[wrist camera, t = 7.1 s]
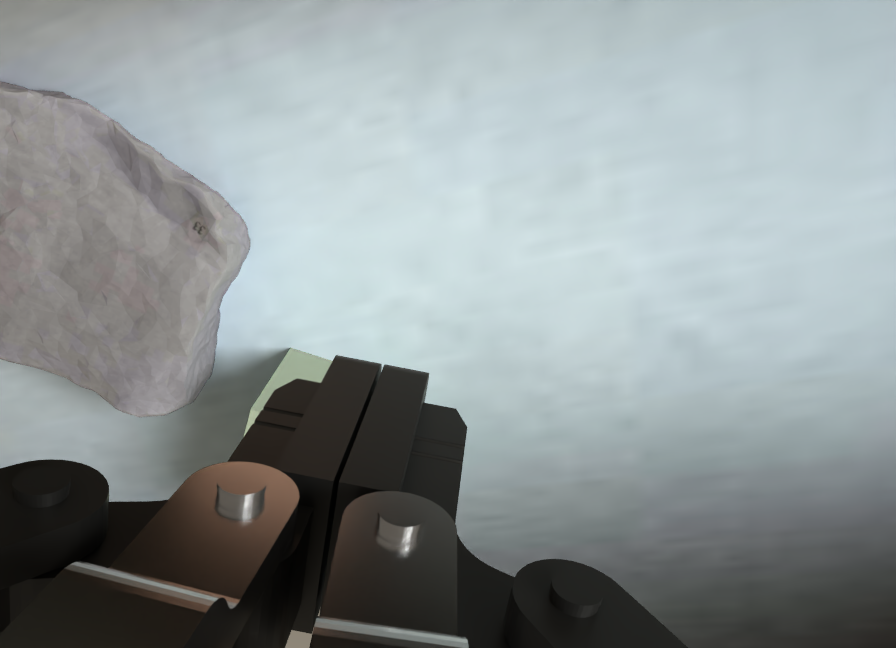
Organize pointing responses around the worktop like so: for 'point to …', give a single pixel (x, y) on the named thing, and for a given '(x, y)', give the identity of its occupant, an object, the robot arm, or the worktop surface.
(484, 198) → the worktop surface
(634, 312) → the worktop surface
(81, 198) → the stone block
